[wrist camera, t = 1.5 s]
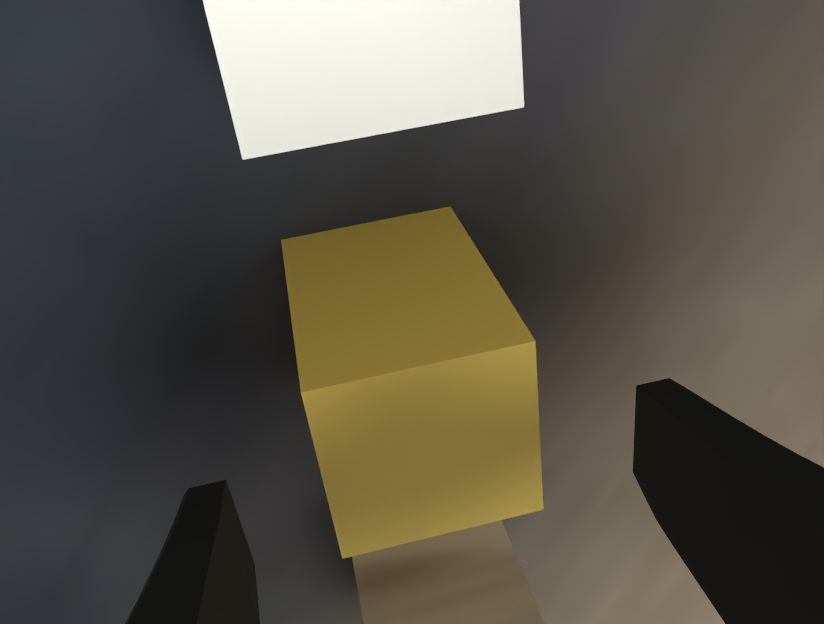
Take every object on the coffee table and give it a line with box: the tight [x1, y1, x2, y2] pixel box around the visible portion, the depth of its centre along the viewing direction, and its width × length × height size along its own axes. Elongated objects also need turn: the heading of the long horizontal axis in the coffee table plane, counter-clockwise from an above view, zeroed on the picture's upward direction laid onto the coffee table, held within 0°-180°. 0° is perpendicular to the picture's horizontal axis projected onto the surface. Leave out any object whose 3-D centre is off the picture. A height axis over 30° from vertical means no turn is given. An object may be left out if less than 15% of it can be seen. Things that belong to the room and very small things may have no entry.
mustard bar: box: [281, 206, 543, 559], centre depth 16 cm, size 4×4×6 cm
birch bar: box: [352, 520, 544, 624], centre depth 21 cm, size 4×4×6 cm
